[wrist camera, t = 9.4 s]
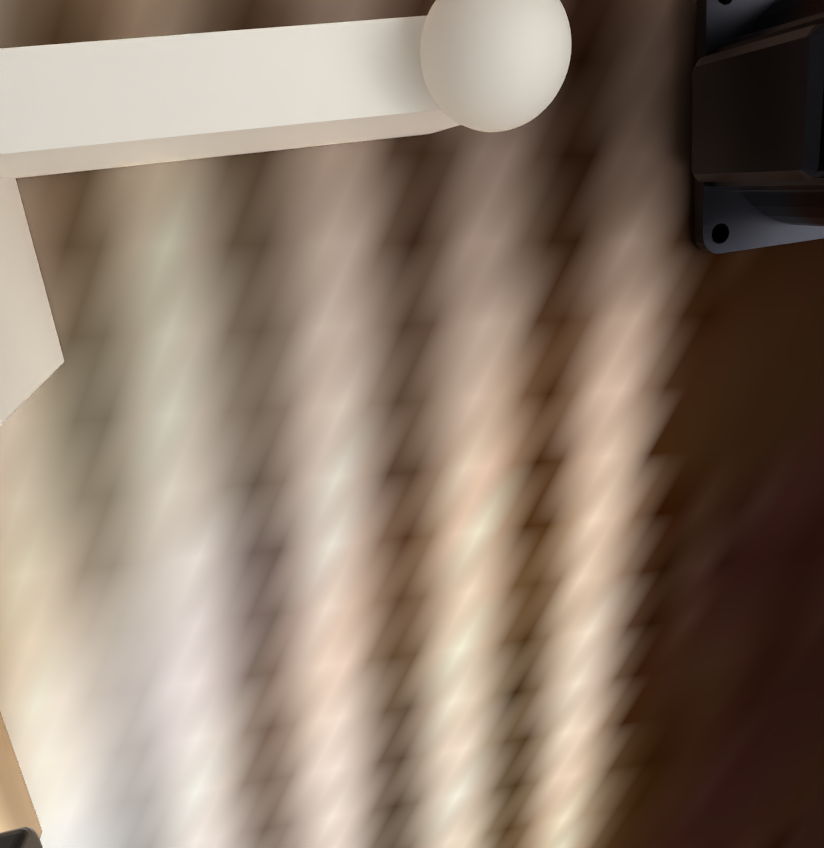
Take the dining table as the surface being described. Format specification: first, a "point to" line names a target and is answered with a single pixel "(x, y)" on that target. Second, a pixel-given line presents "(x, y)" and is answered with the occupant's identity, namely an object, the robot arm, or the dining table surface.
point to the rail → (14, 790)
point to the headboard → (248, 113)
